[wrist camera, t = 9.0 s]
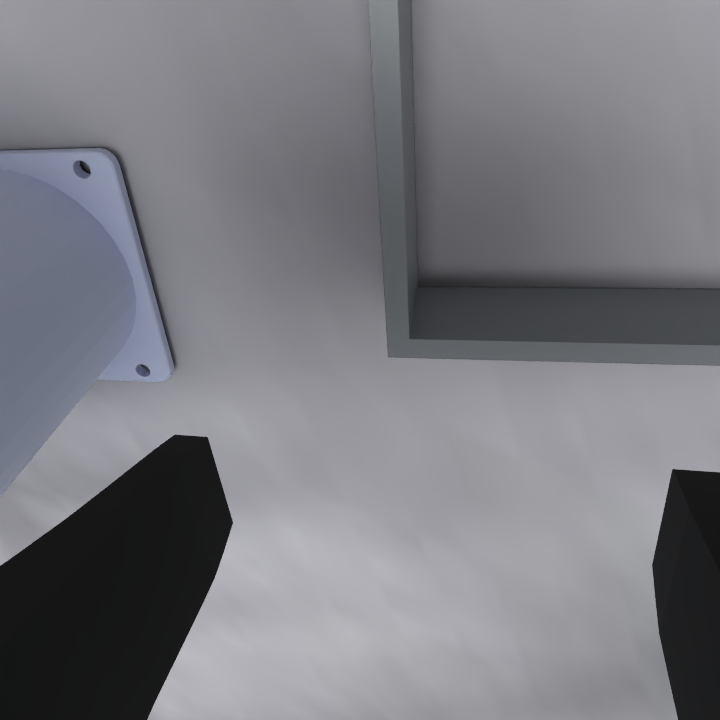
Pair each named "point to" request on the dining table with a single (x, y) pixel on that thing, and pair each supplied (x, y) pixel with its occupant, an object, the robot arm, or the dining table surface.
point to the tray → (505, 305)
